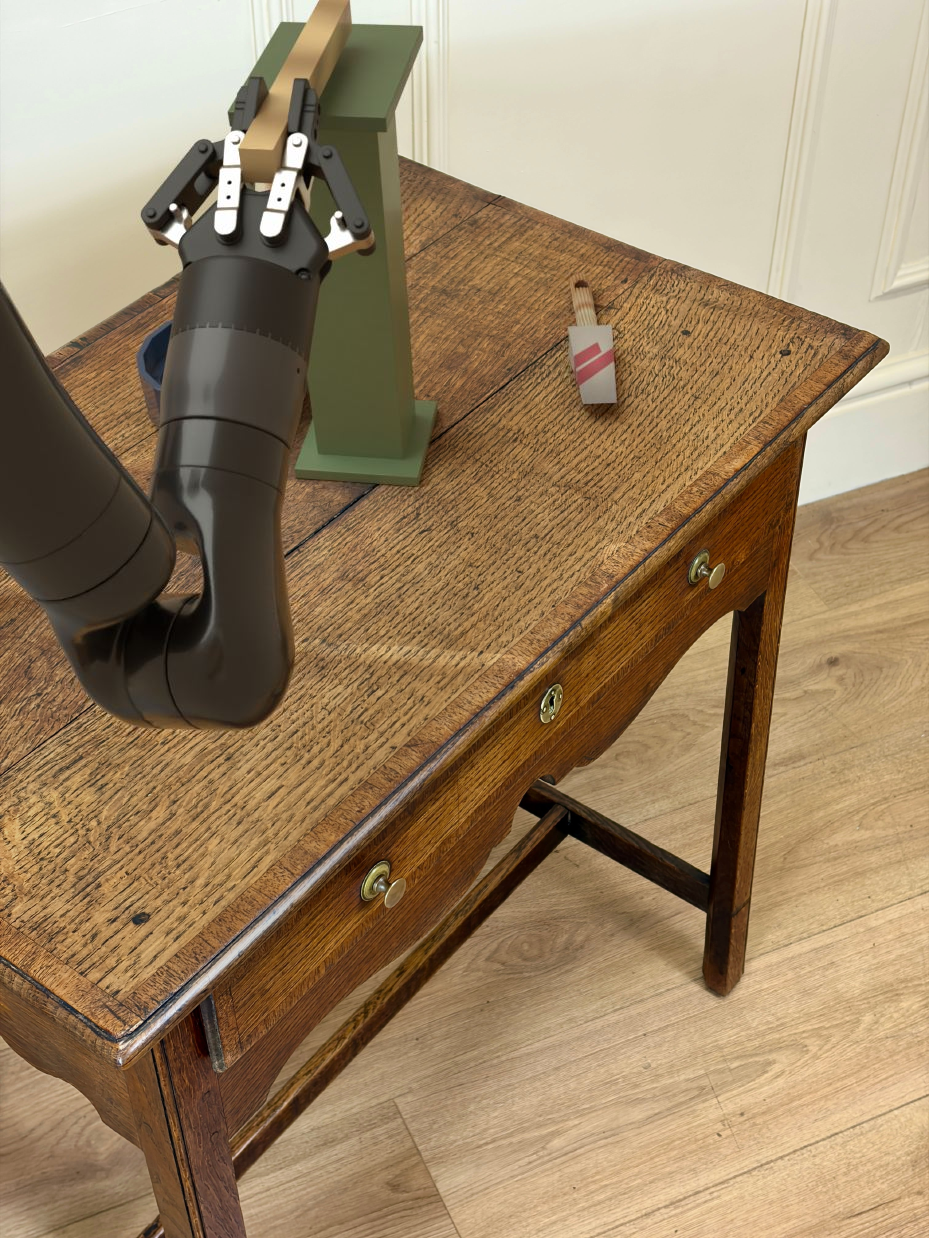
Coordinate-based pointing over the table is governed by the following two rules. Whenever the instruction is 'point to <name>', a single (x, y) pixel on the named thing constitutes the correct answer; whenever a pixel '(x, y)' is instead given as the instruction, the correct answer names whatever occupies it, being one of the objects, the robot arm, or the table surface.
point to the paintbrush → (590, 347)
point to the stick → (305, 60)
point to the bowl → (153, 367)
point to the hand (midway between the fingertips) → (281, 87)
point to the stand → (362, 272)
